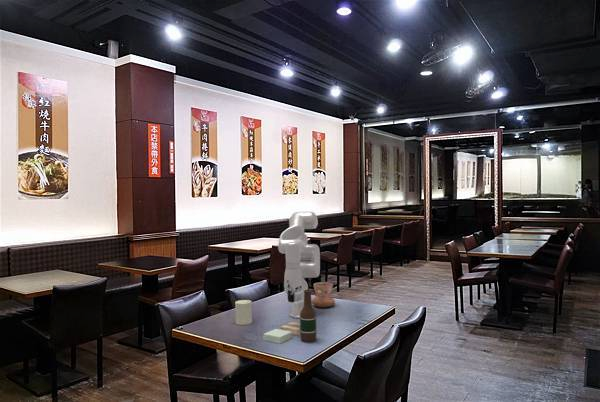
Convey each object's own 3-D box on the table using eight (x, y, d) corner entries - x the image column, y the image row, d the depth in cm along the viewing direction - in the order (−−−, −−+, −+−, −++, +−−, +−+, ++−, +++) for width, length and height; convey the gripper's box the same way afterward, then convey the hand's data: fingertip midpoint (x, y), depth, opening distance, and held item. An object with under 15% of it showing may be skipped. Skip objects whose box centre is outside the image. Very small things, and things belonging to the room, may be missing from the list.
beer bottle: (299, 337, 211) (298, 288, 211) (315, 337, 212) (314, 288, 212) (301, 343, 203) (300, 292, 203) (317, 342, 204) (316, 291, 204)
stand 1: (276, 334, 217) (276, 328, 217) (292, 337, 211) (292, 331, 211) (263, 340, 209) (263, 333, 209) (279, 343, 203) (279, 337, 203)
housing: (290, 299, 227) (290, 288, 227) (303, 301, 222) (303, 290, 222) (285, 301, 223) (284, 290, 222) (297, 303, 218) (297, 292, 218)
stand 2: (292, 327, 229) (292, 321, 229) (308, 330, 223) (307, 324, 223) (280, 332, 220) (280, 326, 220) (296, 335, 215) (296, 329, 215)
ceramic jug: (330, 310, 262) (330, 287, 263) (307, 308, 268) (307, 285, 268) (338, 304, 279) (338, 282, 279) (317, 302, 285) (317, 280, 285)
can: (249, 325, 235) (248, 303, 235) (233, 324, 237) (232, 302, 237) (254, 320, 244) (253, 299, 244) (238, 320, 246) (238, 298, 246)
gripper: (296, 262, 231) (297, 296, 232) (277, 267, 217) (278, 303, 218) (308, 263, 227) (309, 297, 227) (289, 269, 213) (290, 305, 213)
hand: (294, 300), depth 222 cm, fingers closed on housing, 5 cm apart
